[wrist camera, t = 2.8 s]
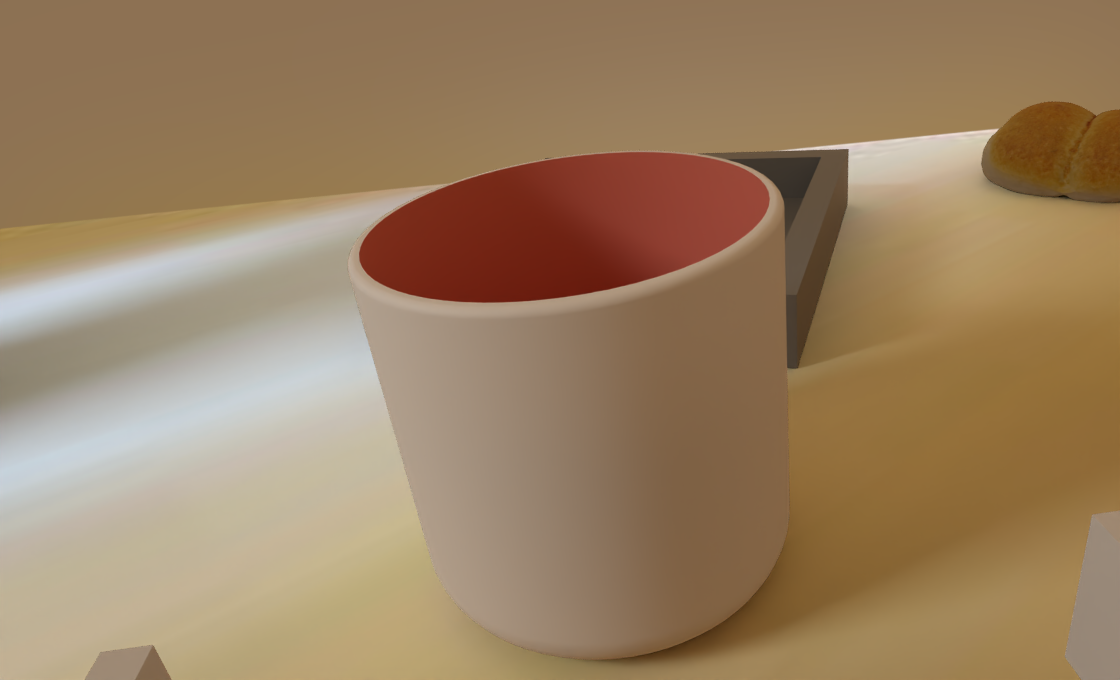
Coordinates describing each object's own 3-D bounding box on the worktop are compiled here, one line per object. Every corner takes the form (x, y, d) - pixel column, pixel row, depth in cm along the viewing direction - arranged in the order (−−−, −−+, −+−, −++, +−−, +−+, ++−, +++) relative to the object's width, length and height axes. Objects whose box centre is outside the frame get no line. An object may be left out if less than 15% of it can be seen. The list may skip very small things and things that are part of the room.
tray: (404, 338, 37) (388, 278, 36) (553, 205, 51) (545, 158, 50) (797, 368, 30) (796, 294, 29) (847, 204, 44) (848, 149, 43)
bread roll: (1168, 217, 37) (1187, 130, 36) (964, 195, 43) (970, 120, 41) (1205, 163, 42) (1223, 84, 40) (1017, 150, 48) (1025, 81, 46)
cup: (544, 419, 30) (494, 149, 25) (827, 470, 25) (830, 148, 20) (367, 619, 22) (249, 286, 18) (722, 747, 17) (689, 336, 13)
